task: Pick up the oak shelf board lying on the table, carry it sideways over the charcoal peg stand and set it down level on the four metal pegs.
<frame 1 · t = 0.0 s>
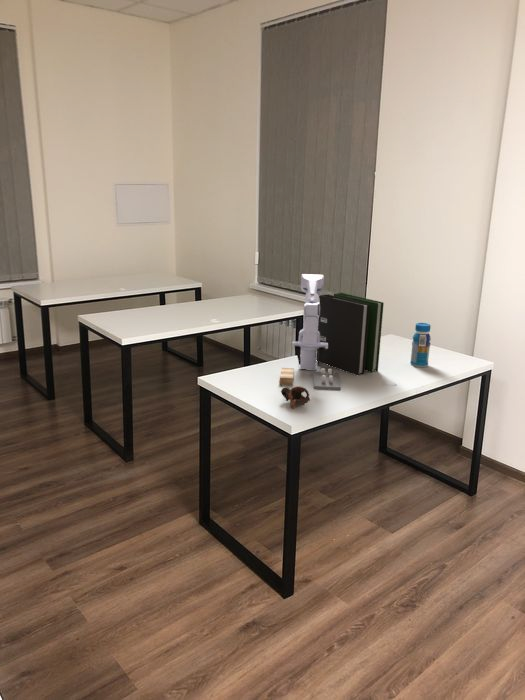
hand: (308, 364, 240), 10 cm above the table, tool pointing down, fingers open, 7 cm apart
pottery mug: (294, 404, 224), on the table
binder: (346, 366, 274), on the table
beverage bottle: (418, 365, 279), on the table
peg stand: (326, 381, 251), on the table
shelf board: (286, 380, 252), on the table
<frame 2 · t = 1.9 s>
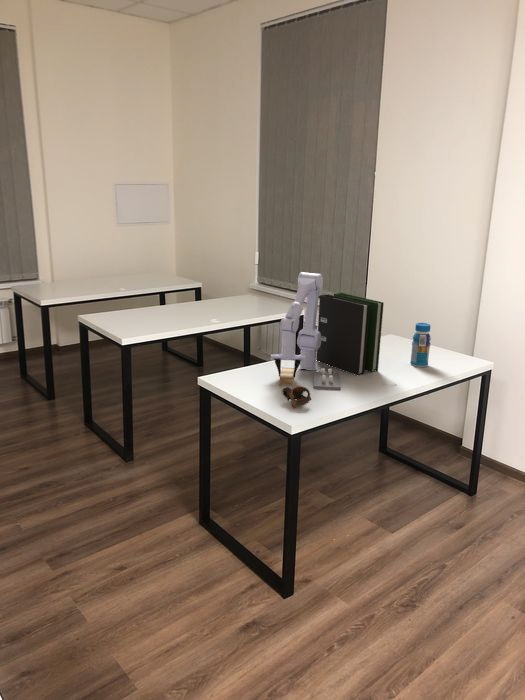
hand: (287, 376, 252), 2 cm above the table, tool pointing down, fingers closed on shelf board, 6 cm apart
shelf board: (286, 380, 252), on the table, touching gripper
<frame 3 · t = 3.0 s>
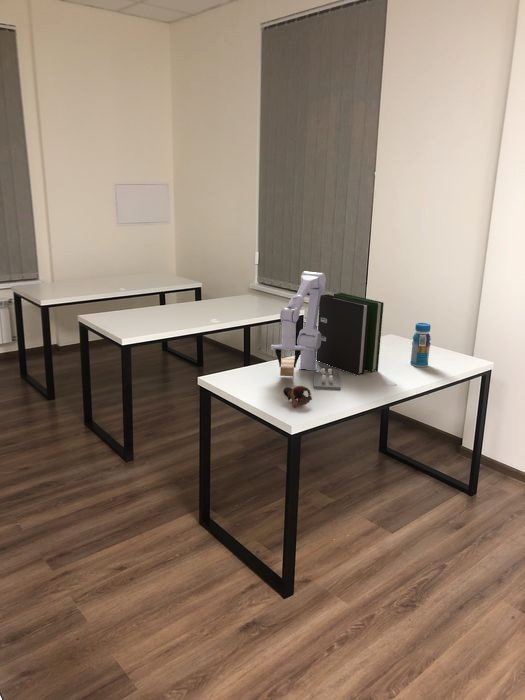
hand: (287, 366, 251), 6 cm above the table, tool pointing down, fingers closed on shelf board, 5 cm apart
shelf board: (287, 371, 251), point 4 cm above the table, touching gripper
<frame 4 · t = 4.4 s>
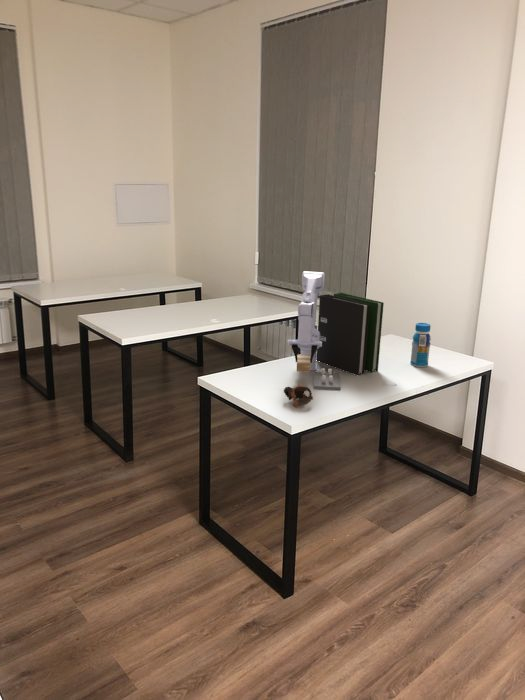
hand: (303, 361, 249), 8 cm above the table, tool pointing down, fingers closed on shelf board, 5 cm apart
shelf board: (303, 366, 250), point 6 cm above the table, touching gripper
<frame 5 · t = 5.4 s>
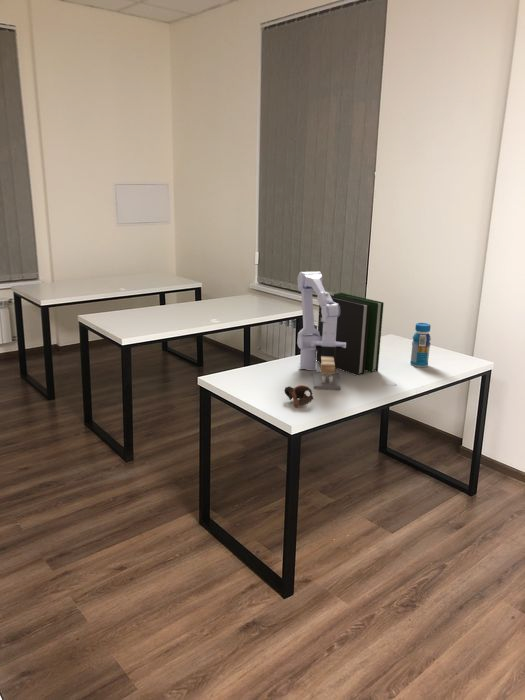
hand: (327, 363, 249), 8 cm above the table, tool pointing down, fingers closed on shelf board, 5 cm apart
shelf board: (327, 368, 249), point 6 cm above the table, touching gripper
when the fingers open (7 cm above the table, at t = 6.2 s): shelf board stays where it is, resting on peg stand.
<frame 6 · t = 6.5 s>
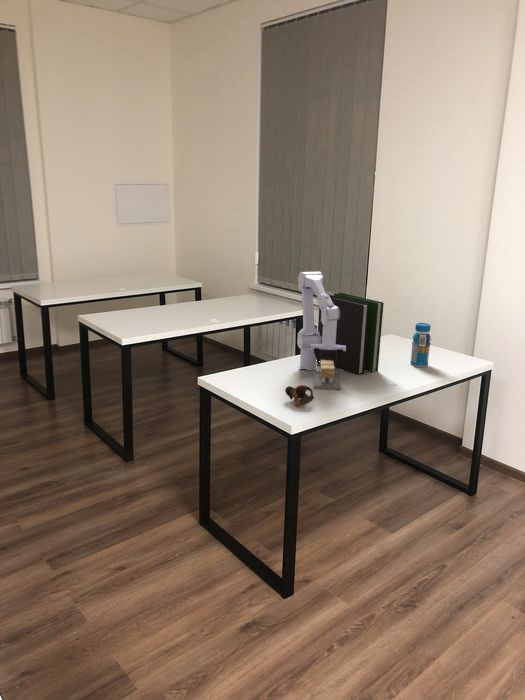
hand: (327, 366, 249), 7 cm above the table, tool pointing down, fingers open, 7 cm apart
shelf board: (327, 372, 250), point 4 cm above the table, touching peg stand
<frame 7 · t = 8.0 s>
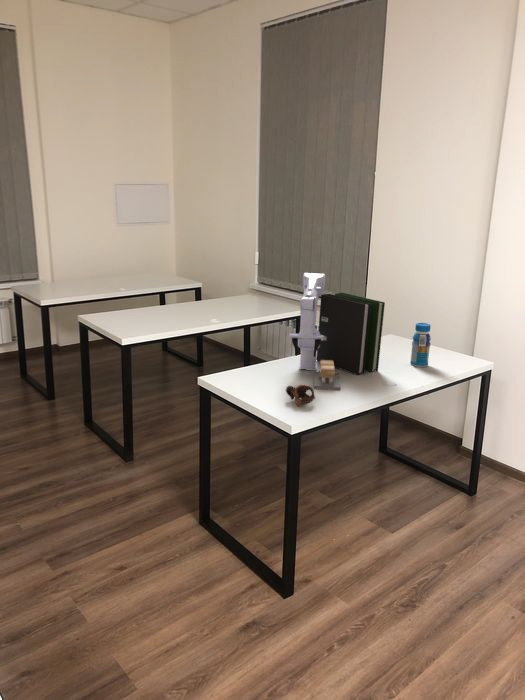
hand: (305, 355, 254), 10 cm above the table, tool pointing down, fingers open, 7 cm apart
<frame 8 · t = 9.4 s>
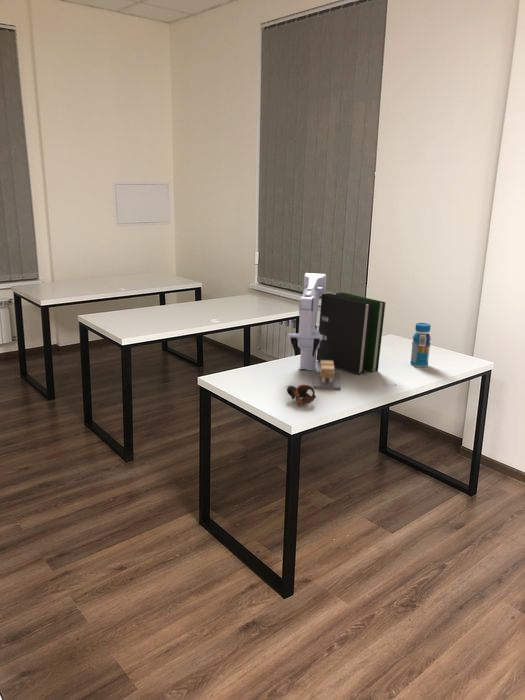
hand: (304, 355, 254), 10 cm above the table, tool pointing down, fingers open, 7 cm apart
binder: (346, 365, 274), on the table, touching arm
at the end: shelf board 0.1 cm off-centre on the peg stand, point 4.2 cm above the peg stand's base; shelf board tilted 0°; the gripper is holding nothing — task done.
